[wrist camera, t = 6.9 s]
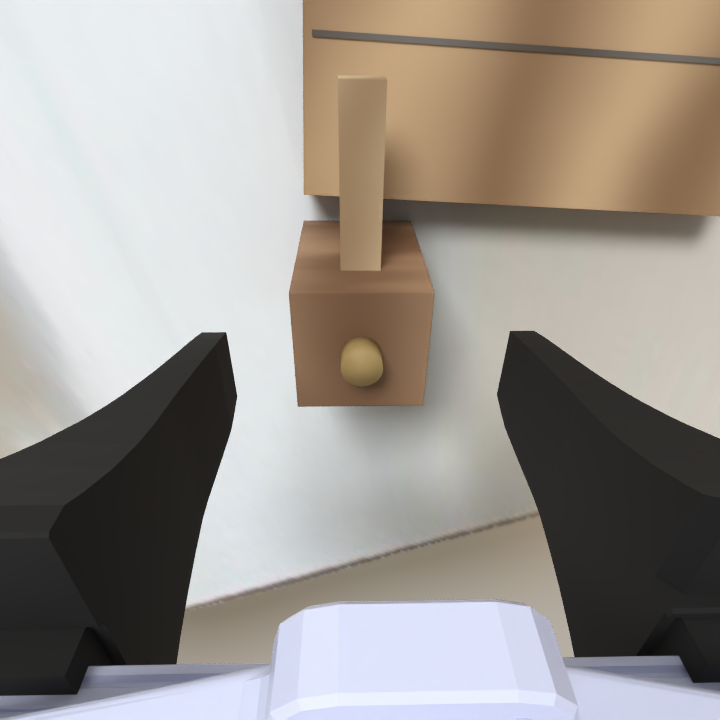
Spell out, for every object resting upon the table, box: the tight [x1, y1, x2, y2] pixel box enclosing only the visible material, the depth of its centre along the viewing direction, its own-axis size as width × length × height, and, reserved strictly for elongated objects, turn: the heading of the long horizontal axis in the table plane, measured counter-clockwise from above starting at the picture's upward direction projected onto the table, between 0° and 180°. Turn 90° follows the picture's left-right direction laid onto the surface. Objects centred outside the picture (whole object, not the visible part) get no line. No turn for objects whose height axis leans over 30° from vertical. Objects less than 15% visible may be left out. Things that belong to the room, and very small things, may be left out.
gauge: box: [289, 75, 435, 407], centre depth 15 cm, size 4×9×7 cm, turn 0°
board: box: [303, 0, 720, 216], centre depth 15 cm, size 14×8×2 cm, turn 87°
